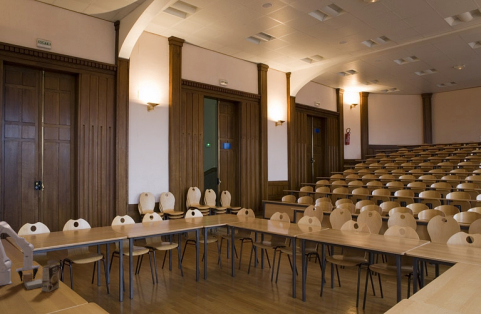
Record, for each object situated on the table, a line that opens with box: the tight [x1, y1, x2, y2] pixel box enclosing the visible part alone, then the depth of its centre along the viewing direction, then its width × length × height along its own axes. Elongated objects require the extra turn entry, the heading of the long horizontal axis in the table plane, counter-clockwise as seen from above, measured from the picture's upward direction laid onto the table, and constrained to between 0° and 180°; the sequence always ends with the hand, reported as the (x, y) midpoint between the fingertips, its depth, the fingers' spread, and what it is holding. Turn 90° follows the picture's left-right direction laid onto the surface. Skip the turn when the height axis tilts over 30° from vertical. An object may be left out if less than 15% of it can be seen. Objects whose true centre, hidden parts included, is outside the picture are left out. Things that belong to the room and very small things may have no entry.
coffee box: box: [41, 263, 60, 293], centre depth 243 cm, size 9×6×16 cm
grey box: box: [24, 278, 42, 290], centre depth 248 cm, size 10×10×3 cm
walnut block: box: [22, 272, 33, 285], centre depth 255 cm, size 5×5×6 cm
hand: (27, 280), depth 255 cm, fingers open, 7 cm apart
